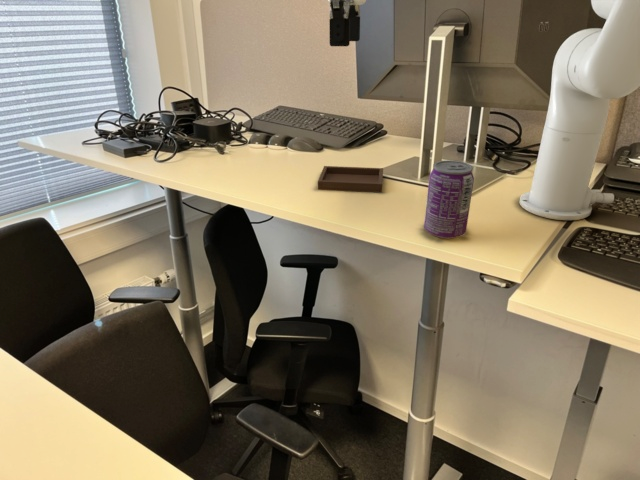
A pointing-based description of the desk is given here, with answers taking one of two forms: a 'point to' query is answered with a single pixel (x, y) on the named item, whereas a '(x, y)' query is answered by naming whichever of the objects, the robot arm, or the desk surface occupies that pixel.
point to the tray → (351, 179)
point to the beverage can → (448, 199)
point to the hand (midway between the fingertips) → (345, 43)
